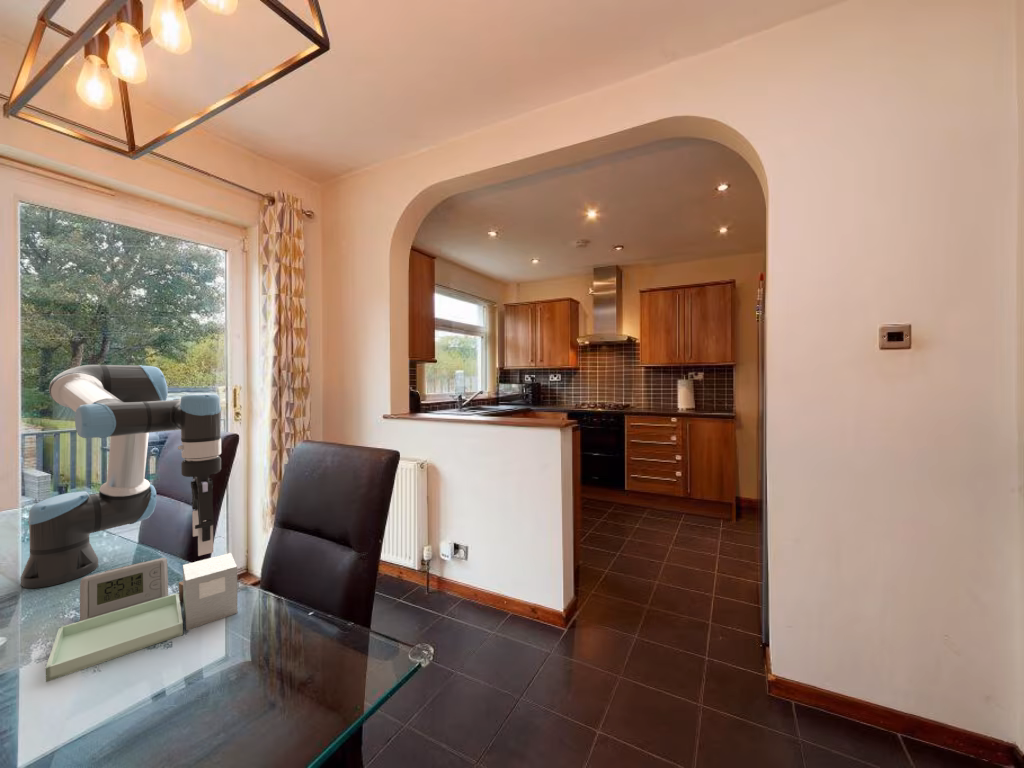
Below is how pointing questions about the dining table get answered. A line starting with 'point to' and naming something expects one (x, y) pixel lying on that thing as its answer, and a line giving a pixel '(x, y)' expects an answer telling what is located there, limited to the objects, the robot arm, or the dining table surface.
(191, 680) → the dining table surface
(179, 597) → the walnut block
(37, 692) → the dining table surface
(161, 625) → the tray
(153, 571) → the digital clock
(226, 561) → the light grey labelled box
